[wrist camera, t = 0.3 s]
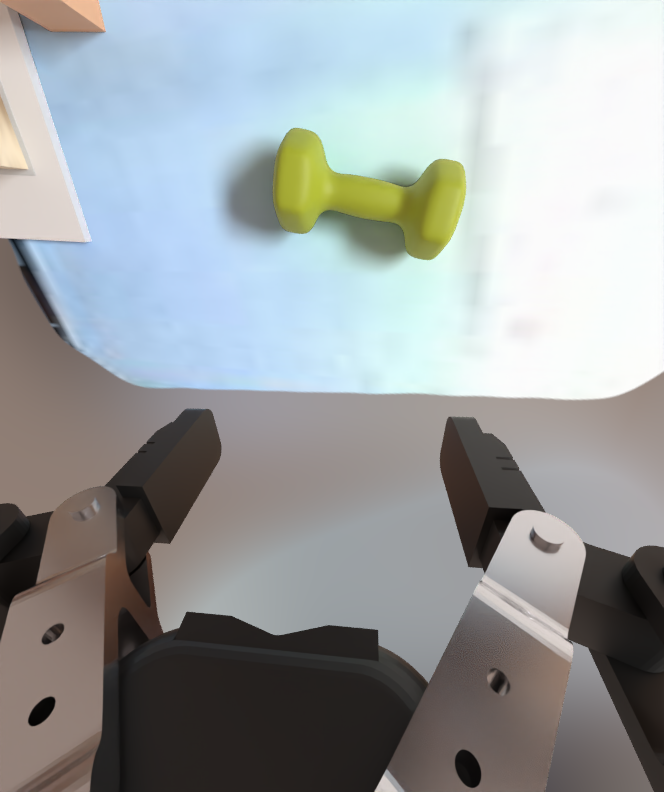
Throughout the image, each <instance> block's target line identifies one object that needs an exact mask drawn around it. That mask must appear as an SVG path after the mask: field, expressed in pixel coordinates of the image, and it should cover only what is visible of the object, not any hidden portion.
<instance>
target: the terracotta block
mask: <svg viewBox="0 0 664 792" xmlns="http://www.w3.org/2000/svg"><path fill="white" fill-rule="evenodd" d="M0 2H1V3H3V4H5V5H6V6H8V7H10V8H12V9H13V10H15V11H17V12H18V13H20V14H22V15H24V16H25V17H27V18H29V19H30V20H32V21H34V22H36V23H37V24H39V25H41V26H42V27H44V28H46V29H48V30H49V31H51V32H106V31H105V27H104V22H103V18H102V14H101V10H100V5H99V1H98V0H0Z"/></svg>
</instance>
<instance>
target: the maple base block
mask: <svg viewBox="0 0 664 792" xmlns="http://www.w3.org/2000/svg"><path fill="white" fill-rule="evenodd" d="M0 168H1V169H28V167H27V164H26V161H25V159H24V156H23V153H22V151H21V148H20V145H19V143H18V140H17V137H16V135H15V132H14V130H13V127H12V124H11V122H10V119H9V116H8V114H7V111H6V108H5V106H4V103H3V100H2V98H1V95H0Z"/></svg>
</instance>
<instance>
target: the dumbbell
mask: <svg viewBox="0 0 664 792" xmlns="http://www.w3.org/2000/svg"><path fill="white" fill-rule="evenodd" d="M465 195H466V179H465V171H464V168H463V166H462V164H461V163H459V162H457V161H452V160H448V159H439V160H435V161H434V162H433V163H431V164H430V165H429V166H428V167H427V169H426V170H425V171H424V173H423V174H422V175H421V177H420V178H419V180H418V181H417V182H416V183H415V184H413V185H411V186H409V187H402V186H398V185H395V184H392V183H389V182H386V181H381V180H377V179H373V178H368V177H363V176H357V175H350V174H340V173H336V172H334V171H333V170H331V169H330V167H329V166H328V164H327V161H326V157H325V153H324V148H323V145H322V143H321V140H320V138H319V137H318V135H316V134H315V133H314V132H312V131H309V130H306V129H301V128H293V129H291V130H290V131H289V132H288V133H287V134H286V135H285V137H284V139H283V141H282V143H281V144H280V146H279V149H278V151H277V155H276V159H275V165H274V174H273V203H274V208H275V211H276V214H277V218H278V220H279V223H280V225H281V226H282V228H283V229H284V230H286V231H288V232H293V233H298V234H304V233H307V232H309V231H310V230H311V229H312V228H313V226H314V224H315V222H316V220H317V218H318V217H319V215H320V214H321V213H322V212H324V211H327V210H334V211H338V212H341V213H344V214H347V215H351V216H355V217H359V218H363V219H369V220H375V221H383V222H391V223H395V224H397V225H399V226H400V227H401V228H402V230H403V232H404V237H405V247H406V251H407V252H408V254H409V255H411V256H412V257H415V258H418V259H423V260H431V259H433V258H435V257H436V256H437V255H438V254H439V253H440V252H441V251H442V250H443V248H444V247H445V246H446V245H447V243H448V242H449V241H450V239H451V237H452V235H453V233H454V231H455V229H456V226H457V223H458V220H459V218H460V215H461V212H462V208H463V205H464V200H465Z"/></svg>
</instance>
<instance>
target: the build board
mask: <svg viewBox="0 0 664 792" xmlns="http://www.w3.org/2000/svg"><path fill="white" fill-rule="evenodd" d="M0 95H1V98H2V100H3V103H4V106H5V108H6V111H7V114H8V116H9V119H10V122H11V124H12V127H13V130H14V132H15V135H16V137H17V140H18V143H19V145H20V148H21V151H22V153H23V156H24V159H25V161H26V164H27V167H28V169H1V168H0V238H12V239H33V240H53V241H73V242H92V239H91V236H90V233H89V230H88V227H87V224H86V221H85V218H84V215H83V211H82V208H81V205H80V202H79V199H78V196H77V193H76V190H75V187H74V184H73V181H72V178H71V175H70V171H69V168H68V165H67V162H66V159H65V156H64V153H63V150H62V147H61V144H60V141H59V138H58V134H57V131H56V128H55V125H54V122H53V119H52V116H51V113H50V110H49V107H48V104H47V101H46V97H45V94H44V91H43V88H42V85H41V82H40V79H39V76H38V73H37V70H36V67H35V64H34V61H33V57H32V54H31V51H30V48H29V45H28V42H27V39H26V36H25V33H24V30H23V27H22V24H21V20H20V17H19V14H18V12H17V11H15V10H13V9H12V8H10V7H8V6H6V5H5V4H3V3H1V2H0Z"/></svg>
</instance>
